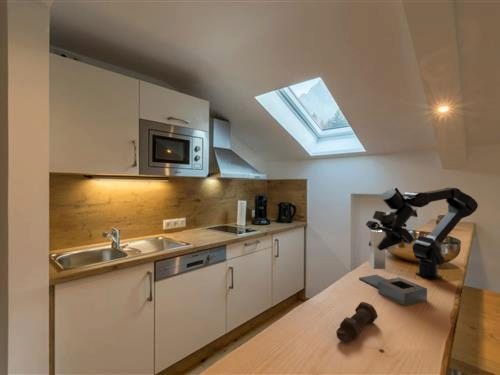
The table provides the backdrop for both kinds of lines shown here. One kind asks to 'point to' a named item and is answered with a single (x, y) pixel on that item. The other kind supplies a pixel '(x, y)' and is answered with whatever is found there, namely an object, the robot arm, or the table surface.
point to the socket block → (402, 291)
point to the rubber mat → (372, 280)
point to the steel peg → (377, 249)
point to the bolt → (356, 322)
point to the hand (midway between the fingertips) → (374, 247)
